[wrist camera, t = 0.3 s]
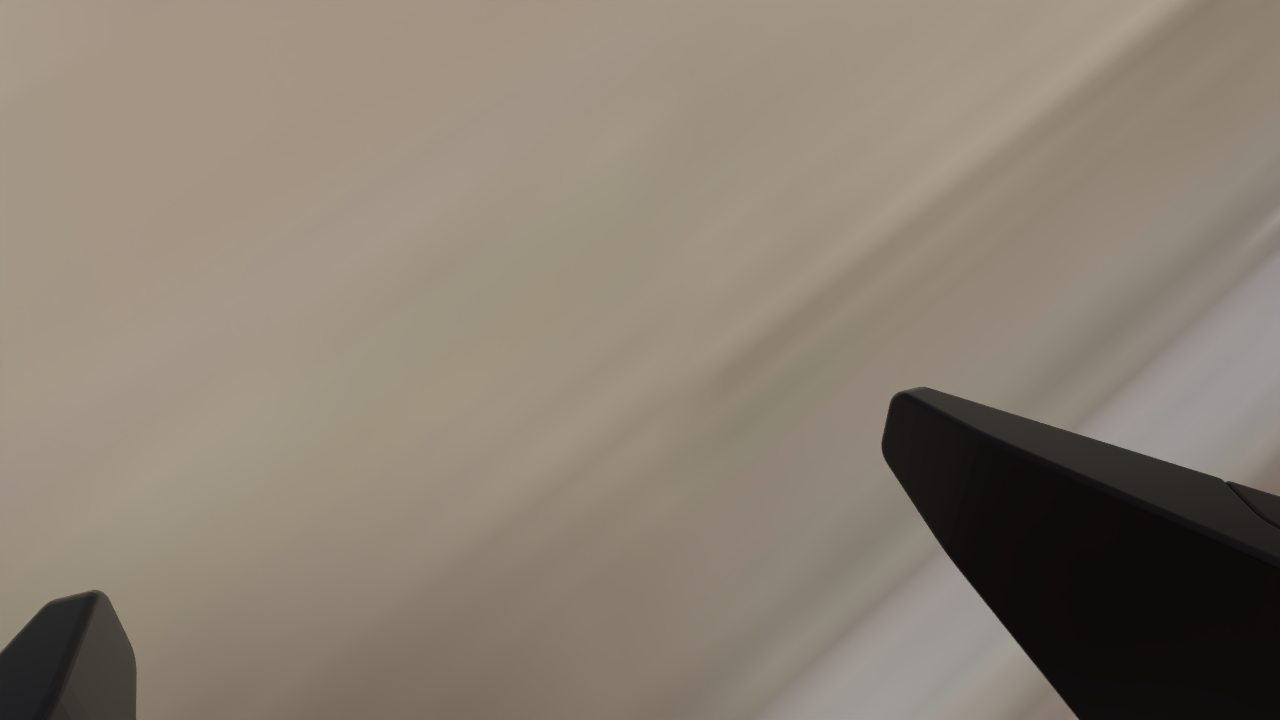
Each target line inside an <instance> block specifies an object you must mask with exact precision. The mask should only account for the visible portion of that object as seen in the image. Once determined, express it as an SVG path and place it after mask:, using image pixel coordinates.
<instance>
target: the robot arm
mask: <svg viewBox="0 0 1280 720" xmlns="http://www.w3.org/2000/svg"><path fill="white" fill-rule="evenodd" d="M881 444H882V452H883V456H884V458H885V461H886V462H887V464H888V466H889V467H890V469H891V470H892V472H893V473H894V475H895V476H896V478H897V479H898V481H899V482H900V484H901V485H902V487H903V489H904V490H905V492H906V493H907V495H908V496H909V498H910V499H911V501H912V502H913V504H914V505H915V507H916V508H917V510H918V512H919V513H920V515H921V516H922V518H923V519H924V521H925V522H926V524H927V525H928V527H929V528H930V530H931V531H932V533H933V535H934V536H935V538H936V539H937V540H938V542H939V543H940V545H941V546H942V548H943V549H944V551H945V552H946V553H947V555H948V556H949V557H950V559H951V560H952V561H953V563H954V564H955V565H956V567H957V568H958V569H959V570H960V572H961V573H962V574H963V575H964V577H965V578H966V579H967V580H968V582H969V583H970V584H971V585H972V587H973V588H974V589H975V590H976V592H977V593H978V594H979V595H980V597H981V598H982V599H983V600H984V602H985V603H986V604H987V605H988V607H989V608H990V609H991V610H992V612H993V613H994V614H995V615H996V617H997V618H998V619H999V620H1000V622H1001V623H1002V624H1003V625H1004V627H1005V628H1006V629H1007V630H1008V632H1009V633H1010V634H1011V635H1012V637H1013V638H1014V639H1015V640H1016V642H1017V643H1018V644H1019V645H1020V647H1021V648H1022V649H1023V650H1024V652H1025V653H1026V654H1027V655H1028V657H1029V658H1030V659H1031V660H1032V662H1033V663H1034V664H1035V665H1036V667H1037V668H1038V669H1039V670H1040V672H1041V673H1042V674H1043V675H1044V677H1045V678H1046V679H1047V680H1048V682H1049V683H1050V684H1051V685H1052V687H1053V688H1054V689H1055V690H1056V692H1057V693H1058V694H1059V695H1060V697H1061V698H1062V699H1063V700H1064V702H1065V703H1066V704H1067V705H1068V707H1069V708H1070V709H1071V710H1072V712H1073V713H1074V714H1075V716H1076V717H1077V718H1078V719H1079V720H1280V496H1276V495H1273V494H1270V493H1266V492H1263V491H1260V490H1257V489H1253V488H1250V487H1247V486H1244V485H1240V484H1237V483H1234V482H1231V481H1227V482H1224V481H1223V480H1222V479H1220V478H1218V477H1214V476H1211V475H1208V474H1205V473H1201V472H1198V471H1195V470H1192V469H1188V468H1185V467H1182V466H1179V465H1176V464H1172V463H1169V462H1166V461H1163V460H1159V459H1156V458H1153V457H1150V456H1147V455H1143V454H1140V453H1137V452H1134V451H1130V450H1127V449H1124V448H1121V447H1118V446H1114V445H1111V444H1108V443H1105V442H1101V441H1098V440H1095V439H1092V438H1089V437H1085V436H1082V435H1079V434H1076V433H1072V432H1069V431H1066V430H1063V429H1060V428H1056V427H1053V426H1050V425H1047V424H1043V423H1040V422H1037V421H1034V420H1031V419H1027V418H1024V417H1021V416H1018V415H1014V414H1011V413H1008V412H1005V411H1002V410H998V409H995V408H992V407H989V406H985V405H982V404H979V403H976V402H973V401H969V400H966V399H963V398H960V397H956V396H953V395H950V394H947V393H944V392H940V391H937V390H934V389H931V388H927V387H917V388H913V389H909V390H905V391H901V392H898V393H897V394H895V395H894V396H893V398H892V399H891V402H890V405H889V410H888V414H887V419H886V424H885V428H884V433H883V437H882V443H881ZM0 720H136V661H135V656H134V652H133V648H132V646H131V643H130V641H129V639H128V637H127V635H126V633H125V631H124V629H123V627H122V625H121V623H120V621H119V618H118V616H117V614H116V612H115V610H114V608H113V606H112V604H111V602H110V600H109V598H108V597H107V596H106V595H105V594H104V593H103V592H101V591H98V590H91V591H87V592H83V593H79V594H75V595H71V596H67V597H63V598H59V599H56V600H53V601H50V602H49V603H47V604H46V605H45V606H44V607H43V608H41V609H40V611H39V612H38V613H37V614H36V615H35V616H34V617H33V618H32V619H31V620H30V621H29V622H28V623H27V625H26V626H25V627H24V628H23V629H22V630H21V631H20V632H19V633H18V634H17V635H16V636H15V637H14V638H13V640H12V641H11V642H10V643H9V644H8V645H7V646H6V647H5V648H4V649H3V650H2V651H1V652H0Z"/></svg>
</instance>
